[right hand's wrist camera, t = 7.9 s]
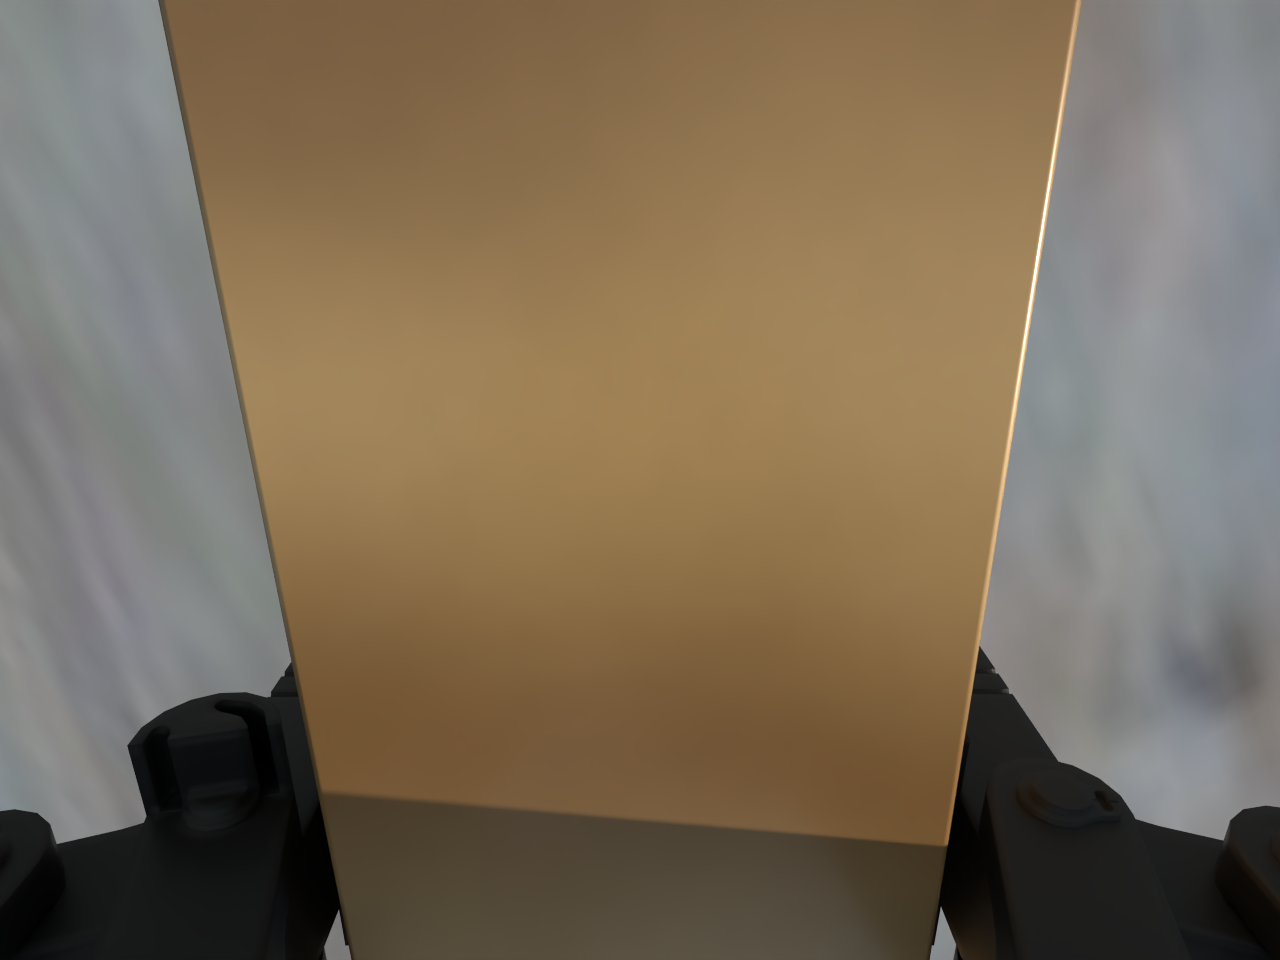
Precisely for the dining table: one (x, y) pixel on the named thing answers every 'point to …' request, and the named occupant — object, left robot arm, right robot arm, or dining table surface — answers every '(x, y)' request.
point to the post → (629, 443)
